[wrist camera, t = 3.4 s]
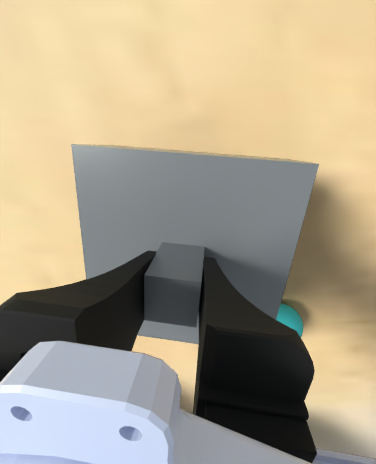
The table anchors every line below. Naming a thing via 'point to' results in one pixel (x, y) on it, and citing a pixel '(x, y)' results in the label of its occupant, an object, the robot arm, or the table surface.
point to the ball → (290, 318)
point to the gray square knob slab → (191, 224)
